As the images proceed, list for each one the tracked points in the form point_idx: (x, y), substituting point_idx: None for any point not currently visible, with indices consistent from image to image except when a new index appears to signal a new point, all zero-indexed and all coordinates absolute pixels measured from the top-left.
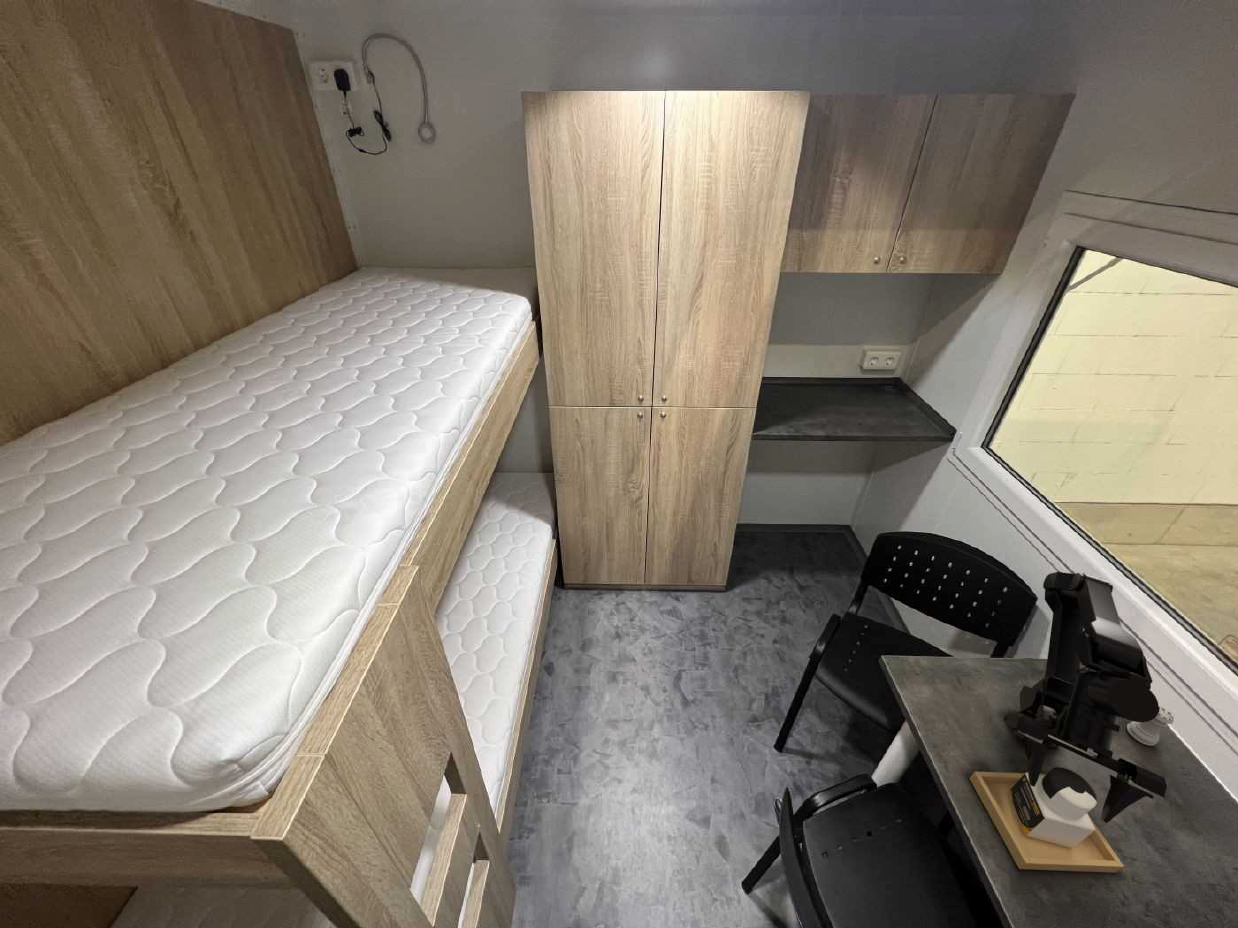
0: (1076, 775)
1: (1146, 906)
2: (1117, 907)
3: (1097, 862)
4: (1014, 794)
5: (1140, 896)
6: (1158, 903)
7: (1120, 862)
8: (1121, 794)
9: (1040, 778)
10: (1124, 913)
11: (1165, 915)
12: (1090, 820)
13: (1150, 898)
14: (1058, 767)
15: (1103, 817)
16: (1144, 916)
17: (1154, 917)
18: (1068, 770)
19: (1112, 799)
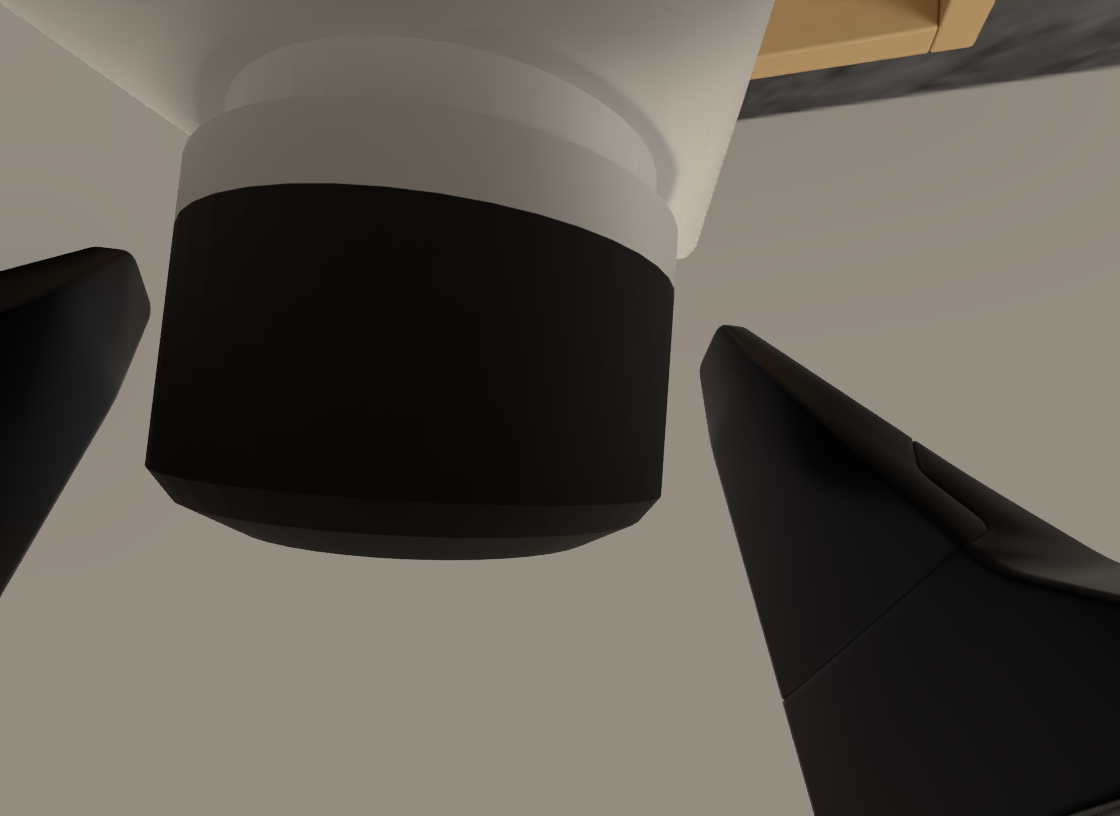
0: (460, 557)
1: (975, 57)
2: (792, 89)
3: (770, 67)
4: None
5: (999, 25)
6: (1087, 31)
7: (969, 31)
8: (797, 687)
9: (185, 22)
10: (807, 100)
11: (1049, 69)
12: (688, 237)
13: (1063, 20)
14: (216, 494)
15: (715, 368)
16: (907, 92)
17: (963, 86)
18: (357, 543)
19: (796, 535)
